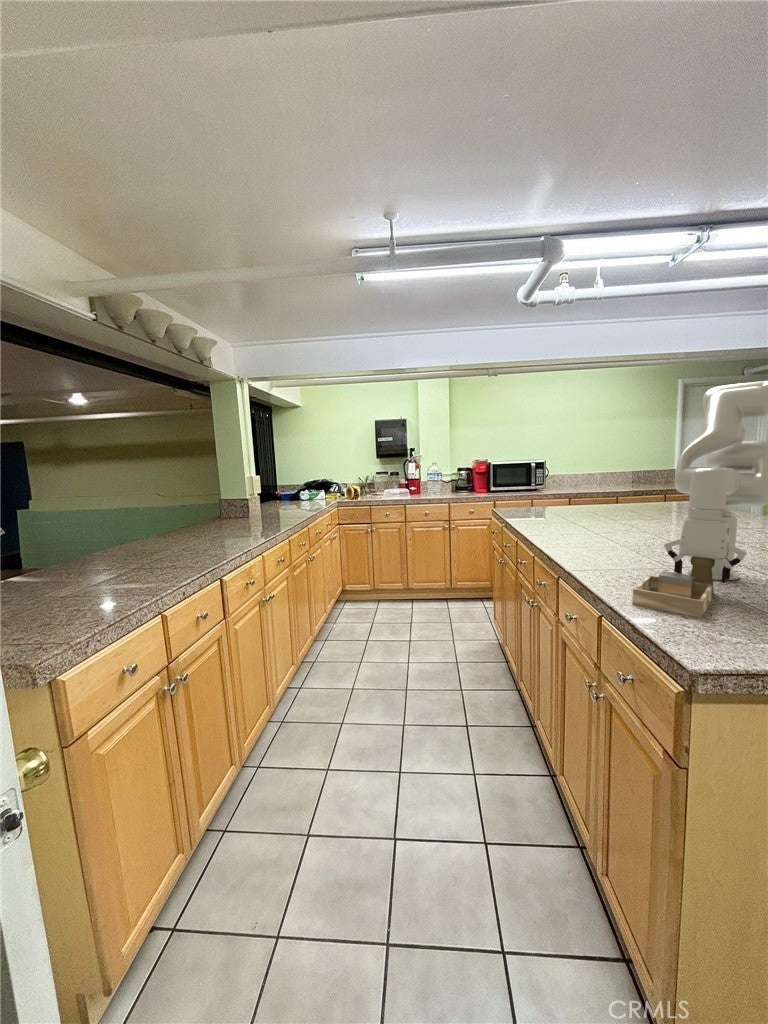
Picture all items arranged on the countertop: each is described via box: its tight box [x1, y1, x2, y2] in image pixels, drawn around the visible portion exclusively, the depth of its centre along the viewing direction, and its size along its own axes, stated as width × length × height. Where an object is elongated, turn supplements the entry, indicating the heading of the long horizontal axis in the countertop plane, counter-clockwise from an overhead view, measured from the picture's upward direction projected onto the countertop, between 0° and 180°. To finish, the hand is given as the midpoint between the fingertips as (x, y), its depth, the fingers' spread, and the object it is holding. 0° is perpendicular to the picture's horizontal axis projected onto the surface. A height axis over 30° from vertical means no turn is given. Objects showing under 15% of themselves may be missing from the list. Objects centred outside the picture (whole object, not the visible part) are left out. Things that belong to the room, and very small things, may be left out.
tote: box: [632, 574, 714, 619], centre depth 104 cm, size 16×14×4 cm
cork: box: [690, 557, 715, 597], centre depth 110 cm, size 6×6×11 cm
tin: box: [658, 570, 695, 599], centre depth 107 cm, size 5×7×6 cm
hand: (700, 578), depth 110 cm, fingers open, 9 cm apart
